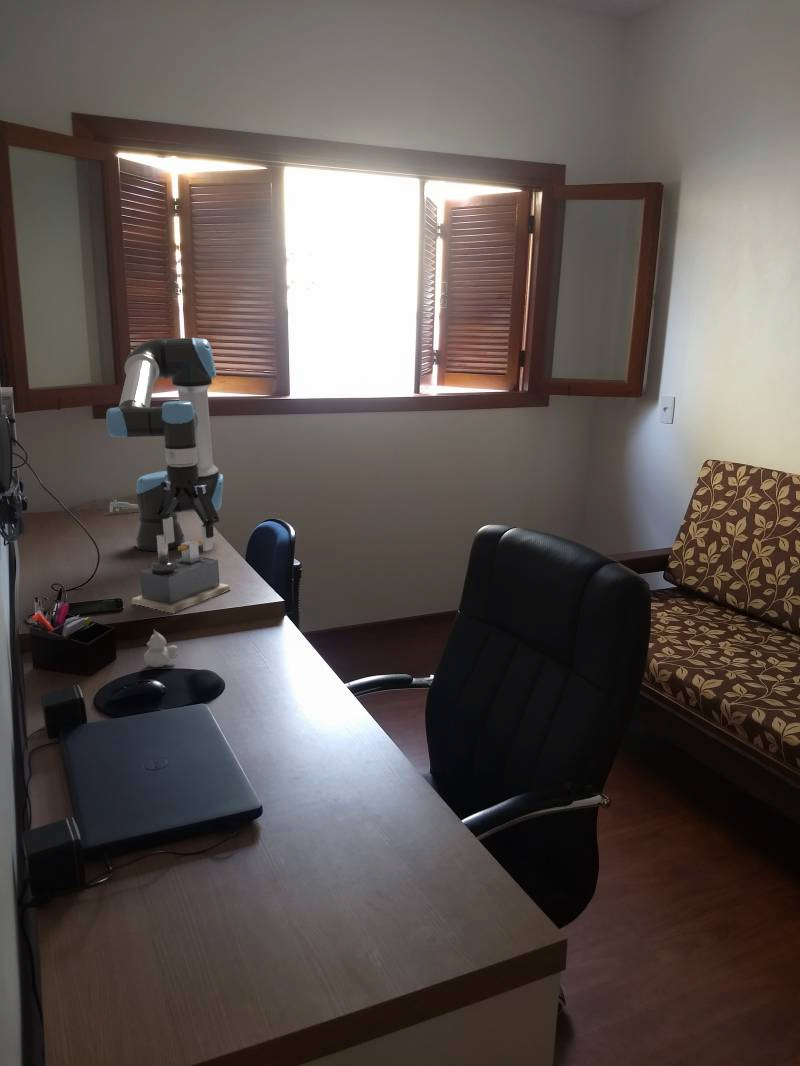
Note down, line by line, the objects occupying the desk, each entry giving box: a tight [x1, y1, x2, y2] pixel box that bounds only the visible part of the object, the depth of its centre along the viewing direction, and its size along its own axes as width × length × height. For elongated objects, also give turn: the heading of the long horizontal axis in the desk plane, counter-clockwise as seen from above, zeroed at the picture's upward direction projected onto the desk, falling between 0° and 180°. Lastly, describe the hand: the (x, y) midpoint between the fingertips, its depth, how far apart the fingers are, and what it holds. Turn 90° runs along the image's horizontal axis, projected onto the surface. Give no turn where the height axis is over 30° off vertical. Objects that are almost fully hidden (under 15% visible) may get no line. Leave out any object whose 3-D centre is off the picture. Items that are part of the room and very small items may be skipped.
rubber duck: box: [143, 629, 178, 668], centre depth 155 cm, size 5×7×8 cm
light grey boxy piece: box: [176, 539, 202, 566], centre depth 197 cm, size 7×3×10 cm, turn 150°
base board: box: [131, 582, 231, 614], centre depth 196 cm, size 20×14×2 cm
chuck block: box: [139, 534, 221, 605], centre depth 194 cm, size 17×10×16 cm, turn 150°
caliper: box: [109, 498, 139, 513], centre depth 293 cm, size 20×1×6 cm, turn 117°
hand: (188, 546), depth 196 cm, fingers open, 13 cm apart
